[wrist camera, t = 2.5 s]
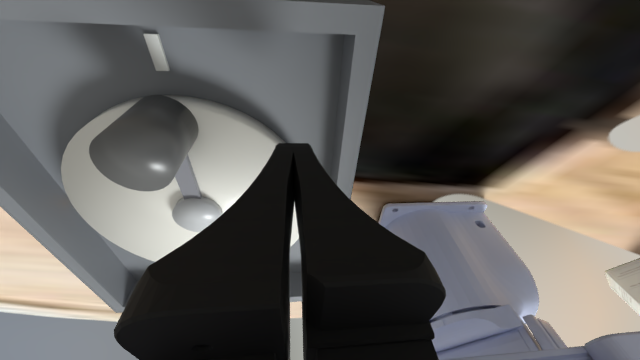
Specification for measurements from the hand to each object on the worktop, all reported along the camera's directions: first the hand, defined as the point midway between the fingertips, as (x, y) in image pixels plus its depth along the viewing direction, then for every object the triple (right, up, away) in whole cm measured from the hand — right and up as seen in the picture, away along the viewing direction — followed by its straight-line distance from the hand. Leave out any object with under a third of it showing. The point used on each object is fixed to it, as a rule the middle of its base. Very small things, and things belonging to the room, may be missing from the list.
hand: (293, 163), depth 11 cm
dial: (-7, -2, +7) cm, 10 cm away
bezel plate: (-7, -1, +8) cm, 11 cm away
